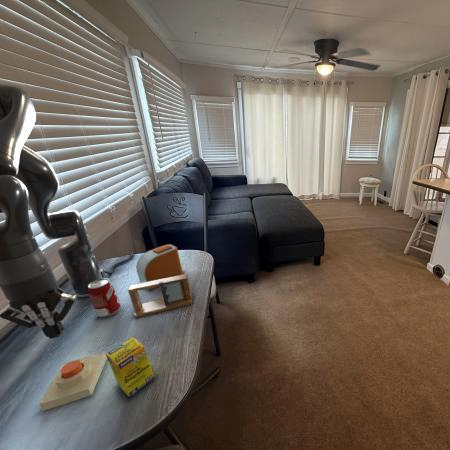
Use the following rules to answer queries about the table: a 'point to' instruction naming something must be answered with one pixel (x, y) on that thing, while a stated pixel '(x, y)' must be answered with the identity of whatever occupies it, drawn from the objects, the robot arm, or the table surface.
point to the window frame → (159, 304)
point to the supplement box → (130, 366)
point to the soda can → (103, 297)
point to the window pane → (172, 292)
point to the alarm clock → (159, 264)
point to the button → (71, 369)
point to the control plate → (74, 383)
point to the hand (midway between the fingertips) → (56, 335)
